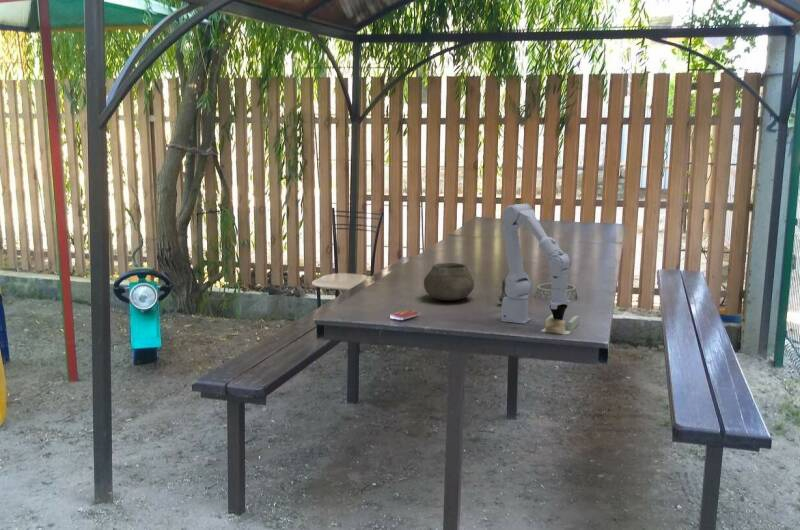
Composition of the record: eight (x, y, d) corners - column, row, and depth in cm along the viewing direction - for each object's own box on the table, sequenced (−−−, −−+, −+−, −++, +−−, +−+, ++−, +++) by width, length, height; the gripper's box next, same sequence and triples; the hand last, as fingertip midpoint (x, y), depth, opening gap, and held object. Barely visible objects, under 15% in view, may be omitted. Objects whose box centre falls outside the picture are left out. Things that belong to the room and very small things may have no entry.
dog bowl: (533, 302, 325) (533, 289, 324) (538, 292, 343) (538, 281, 342) (574, 304, 320) (575, 291, 319) (578, 295, 338) (578, 283, 337)
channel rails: (544, 327, 283) (545, 319, 282) (552, 321, 293) (552, 313, 292) (571, 330, 279) (571, 322, 278) (578, 323, 288) (578, 315, 288)
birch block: (545, 332, 276) (545, 321, 276) (548, 329, 280) (549, 318, 280) (562, 333, 274) (562, 322, 273) (565, 330, 278) (565, 320, 277)
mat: (540, 331, 278) (540, 331, 278) (544, 328, 282) (544, 327, 282) (568, 334, 274) (568, 334, 274) (571, 331, 278) (571, 330, 278)
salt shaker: (510, 307, 314) (511, 278, 312) (496, 306, 316) (497, 277, 314) (514, 304, 320) (514, 275, 317) (500, 303, 322) (500, 274, 320)
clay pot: (415, 297, 334) (415, 262, 331) (458, 292, 343) (458, 259, 340) (438, 307, 315) (438, 271, 312) (483, 302, 323) (484, 267, 321)
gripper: (565, 292, 269) (564, 330, 272) (575, 284, 282) (573, 321, 285) (545, 290, 272) (544, 328, 275) (556, 283, 285) (554, 319, 288)
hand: (557, 324), depth 280 cm, fingers closed
